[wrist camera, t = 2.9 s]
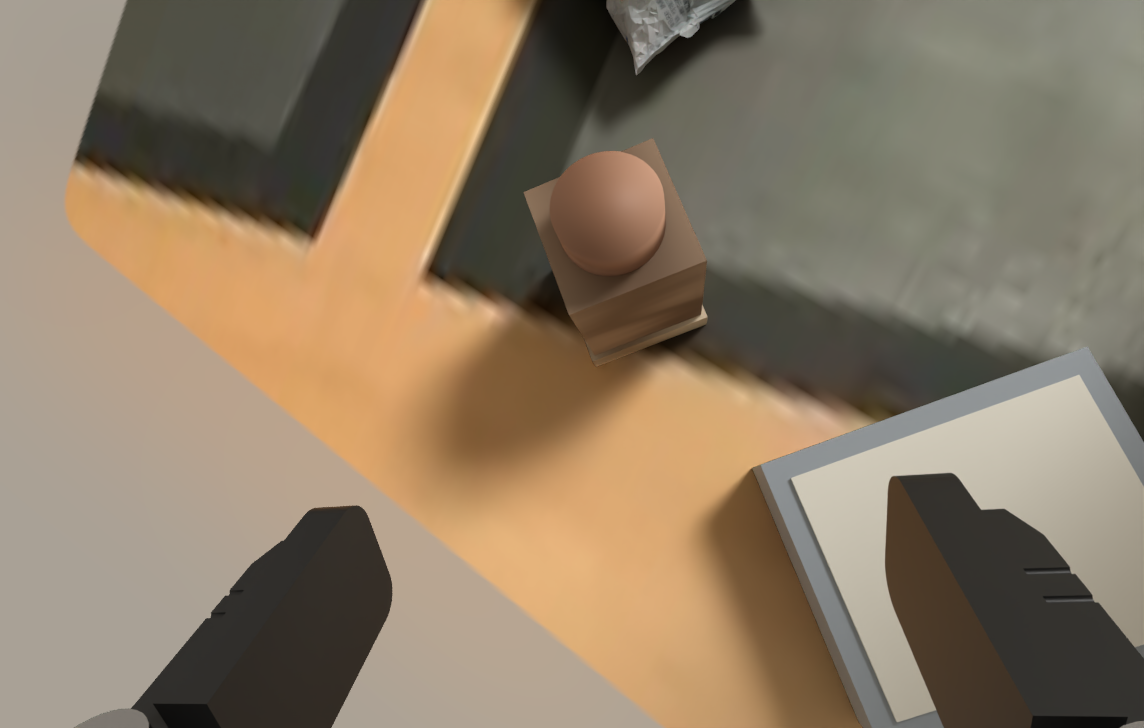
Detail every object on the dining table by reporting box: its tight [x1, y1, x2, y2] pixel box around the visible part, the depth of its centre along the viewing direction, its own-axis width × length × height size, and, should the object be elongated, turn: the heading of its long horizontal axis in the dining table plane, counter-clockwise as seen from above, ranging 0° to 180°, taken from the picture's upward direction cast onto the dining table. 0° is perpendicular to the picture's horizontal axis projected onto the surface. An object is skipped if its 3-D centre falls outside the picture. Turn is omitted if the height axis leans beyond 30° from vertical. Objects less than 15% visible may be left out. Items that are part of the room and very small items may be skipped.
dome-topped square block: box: [524, 138, 707, 367], centre depth 24 cm, size 5×5×9 cm
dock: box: [752, 347, 1144, 728], centre depth 23 cm, size 12×10×3 cm
